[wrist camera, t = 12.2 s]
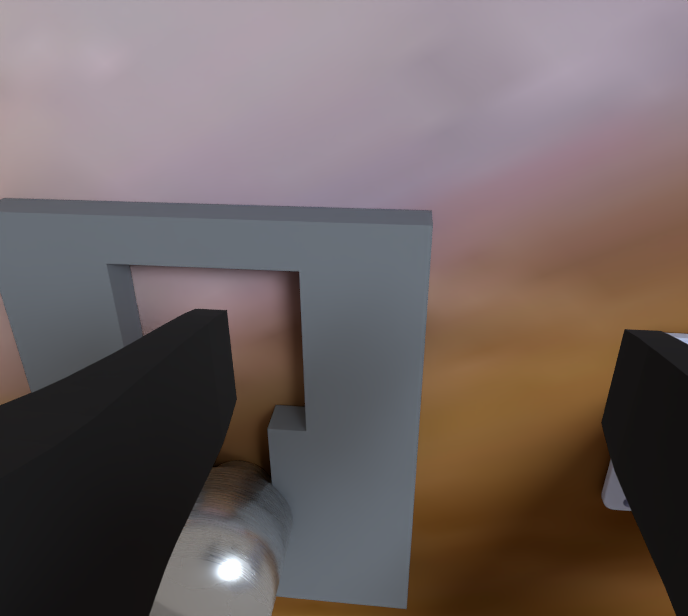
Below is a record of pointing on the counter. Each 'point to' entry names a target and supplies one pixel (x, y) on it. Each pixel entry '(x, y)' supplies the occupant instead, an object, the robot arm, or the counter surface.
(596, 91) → the counter surface
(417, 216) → the keyhole plate
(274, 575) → the headed peg
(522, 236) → the counter surface
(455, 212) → the counter surface
